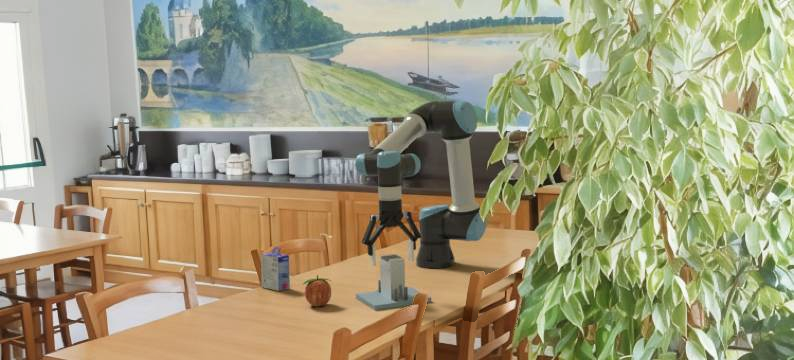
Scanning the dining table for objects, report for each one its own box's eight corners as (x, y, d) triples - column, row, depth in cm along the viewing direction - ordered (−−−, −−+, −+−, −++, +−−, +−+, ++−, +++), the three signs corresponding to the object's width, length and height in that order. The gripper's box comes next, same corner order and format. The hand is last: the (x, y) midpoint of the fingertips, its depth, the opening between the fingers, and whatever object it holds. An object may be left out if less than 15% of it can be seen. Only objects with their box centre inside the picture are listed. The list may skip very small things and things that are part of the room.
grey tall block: (394, 291, 283) (393, 253, 282) (405, 297, 275) (404, 258, 274) (380, 293, 281) (379, 255, 280) (391, 299, 273) (389, 260, 272)
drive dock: (410, 290, 290) (409, 275, 290) (431, 302, 275) (431, 285, 274) (355, 298, 282) (355, 282, 282) (374, 310, 267) (374, 293, 266)
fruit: (334, 307, 271) (332, 277, 270) (304, 310, 270) (303, 279, 268) (331, 301, 280) (330, 271, 278) (302, 303, 278) (301, 273, 277)
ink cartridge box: (291, 288, 298) (289, 248, 297) (279, 291, 294) (277, 251, 293) (273, 284, 305) (271, 245, 303) (261, 287, 301) (259, 247, 299)
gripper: (419, 193, 283) (421, 255, 286) (350, 200, 273) (353, 264, 276) (429, 196, 276) (431, 260, 279) (358, 203, 266) (361, 269, 269)
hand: (392, 262), depth 277 cm, fingers open, 13 cm apart
